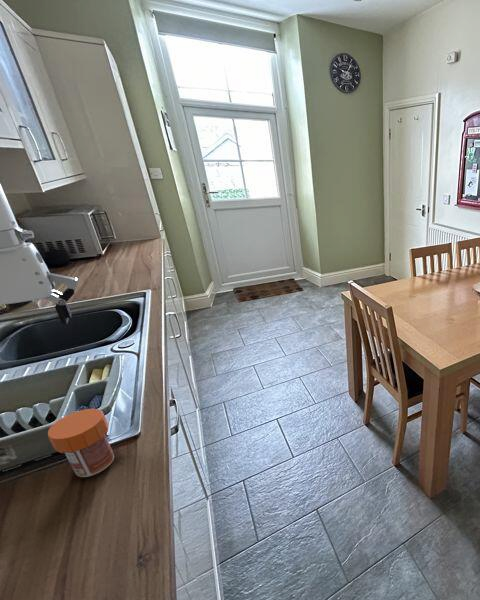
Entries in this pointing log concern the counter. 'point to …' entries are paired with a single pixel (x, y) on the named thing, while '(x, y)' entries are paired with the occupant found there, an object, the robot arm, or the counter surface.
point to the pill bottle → (91, 458)
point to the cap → (78, 430)
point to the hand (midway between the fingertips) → (31, 327)
